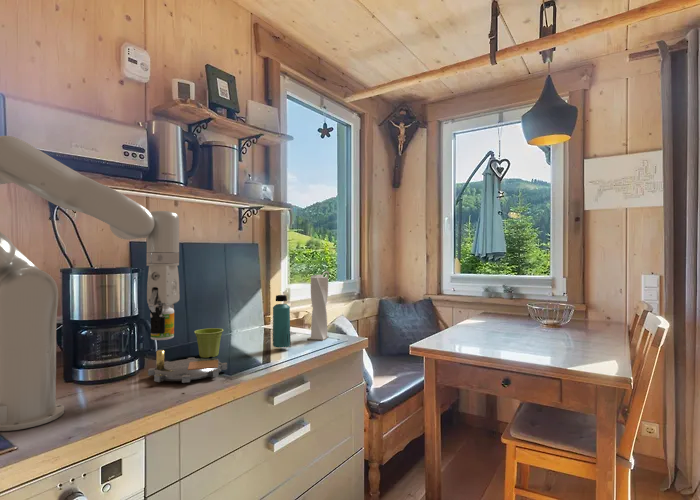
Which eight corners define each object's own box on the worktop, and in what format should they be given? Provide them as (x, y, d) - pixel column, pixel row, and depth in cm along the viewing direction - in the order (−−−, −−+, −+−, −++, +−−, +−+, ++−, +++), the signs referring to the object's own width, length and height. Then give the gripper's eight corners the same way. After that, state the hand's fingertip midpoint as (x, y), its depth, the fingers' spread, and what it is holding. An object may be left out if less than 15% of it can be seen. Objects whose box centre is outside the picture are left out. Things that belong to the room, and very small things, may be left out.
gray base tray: (227, 378, 110) (227, 354, 110) (141, 386, 104) (142, 360, 104) (226, 359, 130) (226, 339, 130) (154, 365, 124) (154, 343, 124)
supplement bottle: (158, 341, 100) (159, 301, 100) (146, 339, 103) (146, 300, 103) (178, 337, 104) (178, 299, 104) (165, 335, 107) (166, 298, 107)
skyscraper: (331, 337, 171) (332, 271, 172) (326, 341, 163) (326, 271, 164) (312, 336, 173) (313, 270, 174) (306, 340, 165) (306, 271, 166)
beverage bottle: (288, 351, 145) (289, 295, 146) (270, 351, 146) (270, 295, 146) (291, 347, 152) (292, 294, 152) (274, 347, 152) (274, 294, 152)
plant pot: (214, 360, 134) (214, 333, 134) (188, 358, 136) (188, 332, 136) (228, 353, 143) (228, 328, 143) (203, 352, 145) (204, 327, 145)
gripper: (165, 260, 96) (165, 337, 95) (188, 259, 113) (188, 325, 112) (132, 260, 95) (132, 338, 95) (160, 259, 112) (160, 325, 112)
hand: (162, 330), depth 104 cm, fingers closed on supplement bottle, 5 cm apart
